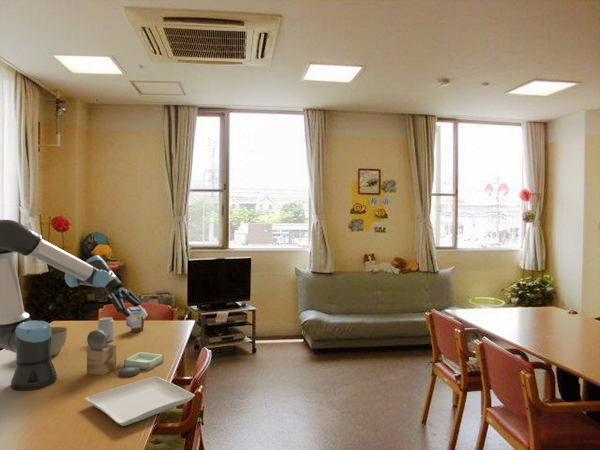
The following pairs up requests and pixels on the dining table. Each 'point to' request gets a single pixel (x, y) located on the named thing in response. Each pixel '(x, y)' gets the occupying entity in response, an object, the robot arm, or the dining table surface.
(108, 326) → the can
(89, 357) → the pulley stand
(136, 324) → the medicine box
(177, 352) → the dining table surface
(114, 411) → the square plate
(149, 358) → the tray
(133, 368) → the dark grey round puck
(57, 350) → the planter bowl
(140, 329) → the disposable coffee cup
